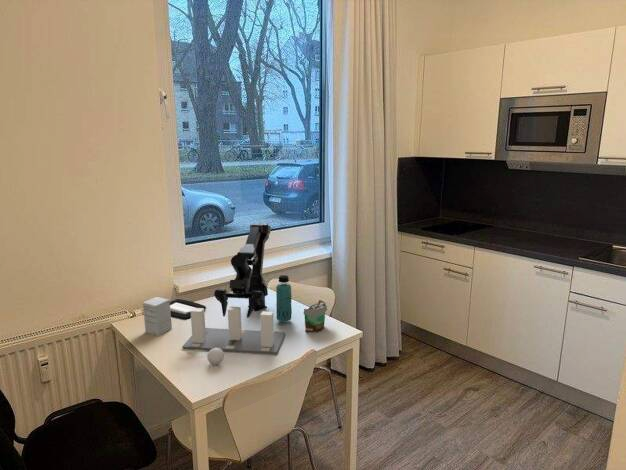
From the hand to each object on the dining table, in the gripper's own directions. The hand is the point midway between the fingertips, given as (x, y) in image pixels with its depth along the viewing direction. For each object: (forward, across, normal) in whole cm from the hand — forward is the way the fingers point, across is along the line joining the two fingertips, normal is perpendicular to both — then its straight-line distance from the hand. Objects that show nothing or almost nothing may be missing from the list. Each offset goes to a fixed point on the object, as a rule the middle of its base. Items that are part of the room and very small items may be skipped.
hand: (235, 316), depth 160 cm
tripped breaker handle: (+7, 0, +5) cm, 8 cm away
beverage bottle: (-6, +15, +20) cm, 26 cm away
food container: (-3, +30, +16) cm, 34 cm away
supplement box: (+4, -33, +10) cm, 35 cm away
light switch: (-10, -33, +24) cm, 42 cm away
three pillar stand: (+8, 0, +6) cm, 10 cm away
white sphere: (+19, -3, -5) cm, 20 cm away
